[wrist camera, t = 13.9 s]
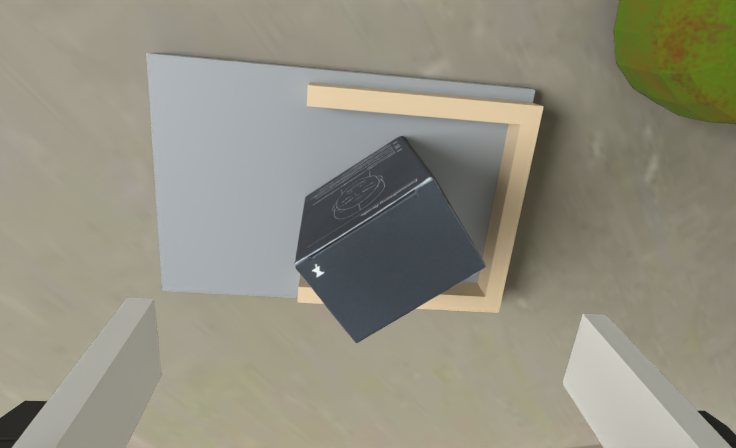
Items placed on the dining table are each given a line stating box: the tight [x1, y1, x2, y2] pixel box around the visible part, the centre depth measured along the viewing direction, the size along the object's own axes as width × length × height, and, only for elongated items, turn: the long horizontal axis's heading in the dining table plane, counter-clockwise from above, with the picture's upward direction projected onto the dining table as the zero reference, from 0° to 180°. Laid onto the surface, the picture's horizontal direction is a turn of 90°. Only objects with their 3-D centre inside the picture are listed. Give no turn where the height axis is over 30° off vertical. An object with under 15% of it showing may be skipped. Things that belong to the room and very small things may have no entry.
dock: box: [146, 53, 544, 313], centre depth 32 cm, size 24×16×4 cm, turn 85°
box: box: [294, 136, 486, 343], centre depth 28 cm, size 8×6×11 cm
